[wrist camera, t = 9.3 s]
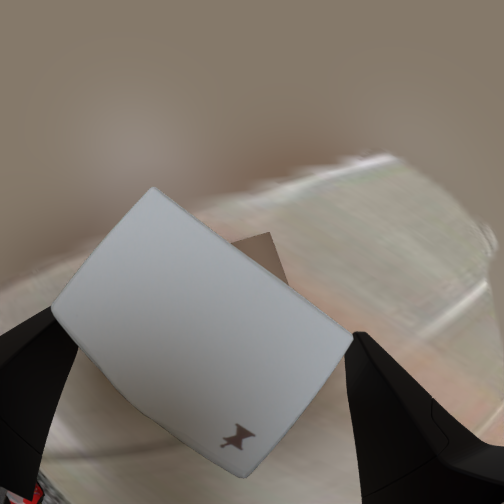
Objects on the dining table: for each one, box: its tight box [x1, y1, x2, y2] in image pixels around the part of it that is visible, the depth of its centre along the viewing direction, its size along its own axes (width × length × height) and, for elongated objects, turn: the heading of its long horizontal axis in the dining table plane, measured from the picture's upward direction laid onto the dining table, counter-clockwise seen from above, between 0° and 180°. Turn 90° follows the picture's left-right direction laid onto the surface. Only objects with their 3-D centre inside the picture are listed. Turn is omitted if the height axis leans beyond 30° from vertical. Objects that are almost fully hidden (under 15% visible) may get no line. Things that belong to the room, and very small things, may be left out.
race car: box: [7, 483, 45, 504], centre depth 10 cm, size 13×5×4 cm, turn 149°
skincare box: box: [51, 187, 353, 478], centre depth 11 cm, size 6×4×12 cm
